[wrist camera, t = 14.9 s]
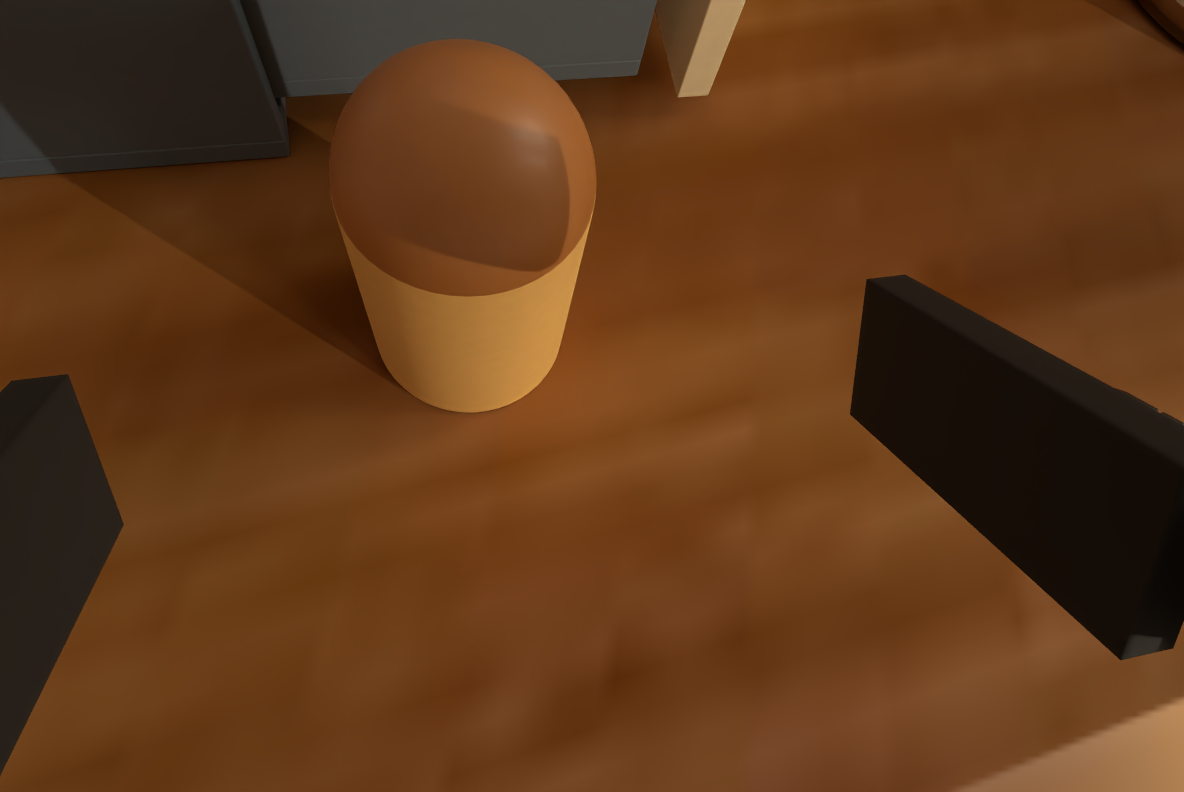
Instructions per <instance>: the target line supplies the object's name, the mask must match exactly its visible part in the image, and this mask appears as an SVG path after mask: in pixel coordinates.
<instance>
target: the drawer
mask: <svg viewBox="0 0 1184 792" xmlns="http://www.w3.org/2000/svg"><path fill="white" fill-rule="evenodd" d="M745 1H746V0H240V3H241V6H242V8H243V11H244V14H245V17H246V20H247V22H248V25H249V28H250V31H251V33H252V36H253V39H254V42H255V45H256V47H257V50H258V53H259V56H260V59H261V61H262V64H263V67H264V70H265V72H266V75H267V78H268V81H269V84H270V86H271V89H272V92H273V95H274V97H275V98H281V97H297V96H313V95H329V94H345V93H353V92H354V90H355V89H356V87H357V86H358V85H359V84H360V83H361V82H362V80H363V79H364V78H365V77H366V76H367V75H368V74H369V73H371V72H372V71H373V70H374V69H375V68H376V67H378V66H379V65H380V64H381V63H382V62H384V61H385V60H387V59H389V58H390V57H392V56H393V55H395V54H397V53H399V52H401V51H403V50H405V49H407V48H410V47H413V46H416V45H419V44H423V43H427V42H431V41H436V40H444V39H470V40H478V41H483V42H488V43H491V44H495V45H498V46H501V47H504V48H507V49H509V50H511V51H514V52H516V53H518V54H520V55H522V56H524V57H525V58H527V59H529V60H530V61H532V62H533V63H535V64H536V65H537V66H539V67H540V68H541V69H543V70H544V71H545V72H546V73H547V74H548V75H549V76H550V77H551V78H553V79H554V80H571V79H588V78H604V77H620V76H636V75H637V74H638V70H639V66H640V62H641V59H642V56H643V52H644V48H645V44H646V40H647V37H648V33H649V29H650V25H651V21H652V18H653V14H654V10H655V12H656V16H657V20H658V24H659V28H660V32H661V36H662V40H663V44H664V47H665V51H666V55H667V59H668V63H669V67H670V71H671V75H672V79H673V83H674V87H675V91H676V94H677V97H690V96H705V95H708V94H709V92H710V89H711V87H712V84H713V82H714V79H715V76H716V74H717V71H718V69H719V66H720V64H721V61H722V59H723V56H724V54H725V51H726V49H727V46H728V44H729V41H730V39H731V36H732V34H733V31H734V29H735V26H736V24H737V21H738V19H739V16H740V13H741V11H742V8H743V6H744V3H745Z"/></svg>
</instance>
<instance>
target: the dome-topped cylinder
mask: <svg viewBox="0 0 1184 792" xmlns="http://www.w3.org/2000/svg"><path fill="white" fill-rule="evenodd" d="M328 171H329V187H330V194H331V199H332V204H333V208H334V212H335V215H336V218H337V221H338V224H339V227H340V230H341V234H342V237H343V240H344V243H345V246H346V249H347V252H348V255H349V259H350V262H351V265H352V268H353V271H354V274H355V277H356V281H357V284H358V287H359V290H360V293H361V296H362V299H363V303H364V306H365V309H366V312H367V315H368V318H369V321H370V325H371V328H372V331H373V334H374V337H375V340H376V343H377V347H378V349H379V352H380V355H381V358H382V360H383V362H384V364H385V366H386V367H387V369H388V371H389V372H390V373H391V375H392V376H393V377H394V379H395V380H396V381H397V382H398V383H399V384H400V385H401V386H402V387H403V388H404V389H405V390H407V391H408V392H409V393H411V394H412V395H413V396H415V397H417V398H418V399H420V400H422V401H423V402H426V403H428V404H430V405H433V406H435V407H438V408H442V409H445V410H450V411H456V412H483V411H489V410H493V409H498V408H500V407H503V406H506V405H509V404H511V403H513V402H515V401H517V400H519V399H521V398H522V397H523V396H525V395H526V394H528V393H529V392H531V391H532V390H533V389H534V388H535V387H536V386H537V385H538V384H539V383H540V382H541V381H542V380H543V379H544V377H545V376H546V375H547V373H548V372H549V370H550V369H551V367H552V366H553V363H554V361H555V359H556V357H557V354H558V351H559V348H560V344H561V340H562V336H563V332H564V328H565V324H566V320H567V316H568V312H569V308H570V304H571V300H572V295H573V291H574V287H575V283H576V279H577V275H578V271H579V267H580V263H581V259H582V255H583V251H584V247H585V243H586V239H587V235H588V231H589V227H590V222H591V218H592V214H593V210H594V204H595V197H596V167H595V160H594V153H593V148H592V145H591V142H590V139H589V135H588V133H587V130H586V127H585V125H584V122H583V120H582V118H581V116H580V114H579V112H578V111H577V109H576V108H575V106H574V105H573V103H572V101H571V100H570V98H569V97H568V95H567V94H566V93H565V91H564V90H563V89H562V88H561V87H560V85H559V84H558V83H557V82H556V81H555V80H554V79H553V78H551V77H550V76H549V75H548V74H547V73H546V72H545V71H544V70H543V69H541V68H540V67H539V66H537V65H536V64H535V63H533V62H532V61H530V60H529V59H527V58H525V57H524V56H522V55H520V54H518V53H516V52H514V51H511V50H509V49H507V48H504V47H501V46H498V45H495V44H491V43H488V42H483V41H478V40H470V39H444V40H436V41H431V42H427V43H423V44H419V45H416V46H413V47H410V48H407V49H405V50H403V51H401V52H399V53H397V54H395V55H393V56H392V57H390V58H389V59H387V60H385V61H384V62H382V63H381V64H380V65H379V66H378V67H376V68H375V69H374V70H373V71H372V72H371V73H369V74H368V75H367V76H366V77H365V78H364V79H363V80H362V82H361V83H360V84H359V85H358V86H357V87H356V89H355V90H354V92H353V93H352V95H351V96H350V98H349V99H348V101H347V103H346V104H345V106H344V108H343V110H342V112H341V114H340V116H339V118H338V121H337V124H336V127H335V131H334V134H333V138H332V141H331V146H330V154H329V168H328Z"/></svg>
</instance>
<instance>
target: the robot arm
mask: <svg viewBox="0 0 1184 792" xmlns="http://www.w3.org/2000/svg"><path fill="white" fill-rule="evenodd" d="M1138 1H1139V3H1140V4H1141V5H1142V6H1143V7H1144V9H1145V10H1146V11H1147V12H1148V13H1149V14H1150V15H1151V16H1152V17H1153V18H1154V19H1155V20H1156V21H1157V22H1158V23H1159V24H1160V25H1161V26H1162V27H1163V28H1164V29H1165V30H1166V31H1167V32H1168V33H1170V34H1171V35H1172V36H1173V37H1174V38H1176V39H1177V40H1178V41H1179V42H1181V43H1182V44H1183V45H1184V0H1138ZM850 415H851V416H853V417H854V418H855V419H856V420H857V421H858V422H859V423H860V424H861V425H862V426H864V427H865V428H866V429H867V430H868V431H869V432H870V433H871V434H872V435H873V436H875V437H876V438H877V439H878V440H879V441H880V442H881V443H882V444H883V445H884V446H886V447H887V448H888V449H889V450H890V451H891V452H892V453H893V454H894V455H895V456H897V457H898V458H899V459H900V460H901V461H902V462H903V463H904V464H905V465H906V466H908V467H909V468H910V469H911V470H912V471H913V472H914V473H915V474H916V475H917V476H919V477H920V478H921V479H922V480H923V481H924V482H925V483H926V484H927V485H928V486H930V487H931V488H932V489H933V490H934V491H935V492H936V493H937V494H938V495H939V496H941V497H942V498H943V499H944V500H945V501H946V502H947V503H948V504H949V505H950V506H952V507H953V508H954V509H955V510H956V511H957V512H958V513H959V514H960V515H961V516H963V517H964V518H965V519H966V520H967V521H968V522H969V523H970V524H971V525H972V526H974V527H975V528H976V529H977V530H978V531H979V532H980V533H981V534H982V535H983V536H985V537H986V538H987V539H988V540H989V541H990V542H991V543H992V544H993V545H994V546H996V547H997V548H998V549H999V550H1000V551H1001V552H1002V553H1003V554H1004V555H1005V556H1007V557H1008V558H1009V559H1010V560H1011V561H1012V562H1013V563H1014V564H1015V565H1016V566H1018V567H1019V568H1020V569H1021V570H1022V571H1023V572H1024V573H1025V574H1026V575H1027V576H1029V577H1030V578H1031V579H1032V580H1033V581H1034V582H1035V583H1036V584H1037V585H1038V586H1040V587H1041V588H1042V589H1043V590H1044V591H1045V592H1046V593H1047V594H1048V595H1049V596H1051V597H1052V598H1053V599H1054V600H1055V601H1056V602H1057V603H1058V604H1059V605H1060V606H1062V607H1063V608H1064V609H1065V610H1066V611H1067V612H1068V613H1069V614H1070V615H1071V616H1073V617H1074V618H1075V619H1076V620H1077V621H1078V622H1079V623H1080V624H1081V625H1082V626H1084V627H1085V628H1086V629H1087V630H1088V631H1089V632H1090V633H1091V634H1092V635H1093V636H1095V637H1096V638H1097V639H1098V640H1099V641H1100V642H1101V643H1102V644H1103V645H1104V646H1106V647H1107V648H1108V649H1109V650H1110V651H1111V652H1112V653H1113V654H1114V655H1115V656H1117V657H1118V658H1119V659H1120V660H1124V659H1128V658H1132V657H1137V656H1141V655H1146V654H1150V653H1154V652H1159V651H1163V650H1168V649H1172V648H1173V647H1174V644H1175V642H1176V639H1177V637H1178V634H1179V632H1180V629H1181V626H1182V624H1183V621H1184V425H1183V424H1184V423H1183V422H1181V421H1179V420H1177V419H1175V418H1173V417H1172V416H1170V415H1168V414H1166V413H1164V412H1163V413H1159V412H1158V409H1157V408H1155V407H1153V406H1151V405H1149V404H1148V403H1146V402H1144V401H1142V400H1140V399H1138V398H1136V397H1135V396H1133V395H1131V394H1129V393H1127V392H1125V391H1122V390H1119V389H1116V388H1113V387H1111V386H1109V385H1107V384H1105V383H1103V382H1102V381H1100V380H1098V379H1096V378H1094V377H1092V376H1091V375H1089V374H1087V373H1085V372H1083V371H1081V370H1080V369H1078V368H1076V367H1074V366H1072V365H1070V364H1068V363H1067V362H1065V361H1063V360H1061V359H1059V358H1057V357H1056V356H1054V355H1052V354H1050V353H1048V352H1046V351H1045V350H1043V349H1041V348H1039V347H1037V346H1035V345H1034V344H1032V343H1030V342H1028V341H1026V340H1024V339H1023V338H1021V337H1019V336H1017V335H1015V334H1013V333H1011V332H1010V331H1008V330H1006V329H1004V328H1002V327H1000V326H999V325H997V324H995V323H993V322H991V321H989V320H988V319H986V318H984V317H982V316H980V315H978V314H977V313H975V312H973V311H971V310H969V309H967V308H966V307H964V306H962V305H960V304H958V303H956V302H954V301H953V300H951V299H949V298H947V297H945V296H943V295H942V294H940V293H938V292H936V291H934V290H932V289H931V288H929V287H927V286H925V285H923V284H921V283H920V282H918V281H916V280H914V279H912V278H910V277H909V276H907V275H898V276H890V277H882V278H873V279H867V281H866V289H865V297H864V305H863V313H862V321H861V329H860V337H859V346H858V354H857V362H856V370H855V378H854V386H853V394H852V402H851V410H850ZM123 525H124V524H123V521H122V519H121V516H120V513H119V511H118V508H117V505H116V502H115V500H114V497H113V494H112V492H111V489H110V486H109V484H108V481H107V478H106V476H105V473H104V470H103V467H102V465H101V462H100V459H99V457H98V454H97V451H96V449H95V446H94V443H93V440H92V438H91V435H90V432H89V430H88V427H87V424H86V422H85V419H84V416H83V414H82V411H81V408H80V405H79V403H78V400H77V397H76V395H75V392H74V389H73V387H72V384H71V381H70V379H69V376H68V374H66V375H58V376H49V377H41V378H32V379H24V380H16V381H11V382H10V383H9V384H8V385H7V386H6V387H5V388H4V389H3V390H2V391H1V392H0V775H1V773H2V771H3V769H4V767H5V765H6V763H7V761H8V759H9V757H10V755H11V753H12V751H13V749H14V746H15V744H16V742H17V740H18V738H19V736H20V734H21V732H22V730H23V728H24V726H25V724H26V722H27V720H28V718H29V716H30V714H31V712H32V710H33V708H34V706H35V704H36V702H37V700H38V698H39V696H40V694H41V692H42V690H43V688H44V685H45V683H46V681H47V679H48V677H49V675H50V673H51V671H52V669H53V667H54V665H55V663H56V661H57V659H58V657H59V655H60V653H61V651H62V649H63V647H64V645H65V643H66V641H67V639H68V637H69V635H70V633H71V631H72V629H73V627H74V625H75V622H76V620H77V618H78V616H79V614H80V612H81V610H82V608H83V606H84V604H85V602H86V600H87V598H88V596H89V594H90V592H91V590H92V588H93V586H94V584H95V582H96V580H97V578H98V576H99V574H100V572H101V570H102V568H103V566H104V564H105V561H106V559H107V557H108V555H109V553H110V551H111V549H112V547H113V545H114V543H115V541H116V539H117V537H118V535H119V533H120V531H121V529H122V527H123Z"/></svg>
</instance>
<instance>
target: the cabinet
mask: <svg viewBox="0 0 1184 792" xmlns="http://www.w3.org/2000/svg"><path fill="white" fill-rule="evenodd" d="M289 155H290V148H289V136H288V124H287V112H286V100H285V97H281V98H275V97H274V95H273V92H272V89H271V86H270V84H269V81H268V78H267V75H266V72H265V70H264V67H263V64H262V61H261V59H260V56H259V53H258V50H257V47H256V45H255V42H254V39H253V36H252V33H251V31H250V28H249V25H248V22H247V20H246V17H245V14H244V11H243V8H242V6H241V3H240V0H0V178H4V177H17V176H30V175H44V174H57V173H71V172H84V171H97V170H111V169H124V168H138V167H151V166H164V165H178V164H191V163H205V162H218V161H231V160H245V159H258V158H272V157H285V156H289Z"/></svg>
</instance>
